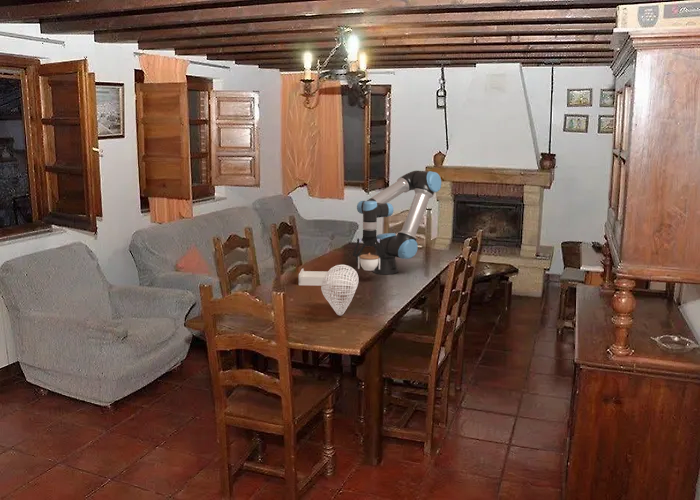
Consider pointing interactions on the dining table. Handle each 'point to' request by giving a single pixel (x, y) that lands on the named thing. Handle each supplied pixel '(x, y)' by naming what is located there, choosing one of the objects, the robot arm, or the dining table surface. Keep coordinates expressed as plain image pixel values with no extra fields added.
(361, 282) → the dining table surface
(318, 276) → the pusher lane
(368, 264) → the lidded jar
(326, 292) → the heart
